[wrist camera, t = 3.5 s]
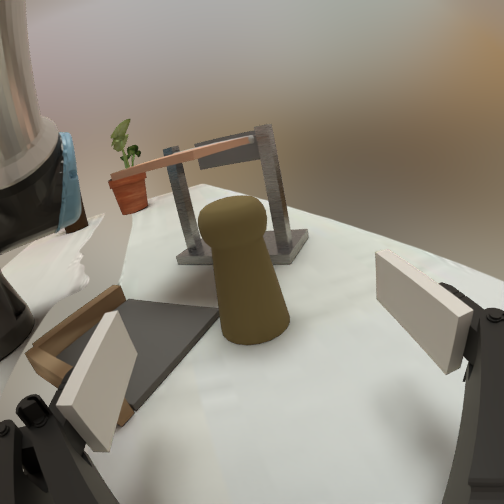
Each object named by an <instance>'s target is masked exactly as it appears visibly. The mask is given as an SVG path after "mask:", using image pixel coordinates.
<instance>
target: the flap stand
mask: <svg viewBox="0 0 504 504" xmlns="http://www.w3.org/2000/svg"><path fill="white" fill-rule="evenodd" d="M254 129H255V134H256V139H257V144H258V149H259V154H260V159H261V164H262V170H263V175H264V180H265V185H266V190H267V196H268V201H269V206H270V212H271V217H272V223H273V228H274V231H265V233H264V235H263V238H264V240H265V243H266V246H267V249H268V252H269V255H270V258H271V261H272V264H291V263H292V261H293V260H294V258H295V257H296V255H297V254H298V252H299V251H300V249H301V248H302V246H303V245H304V243H305V242H306V240H307V239H308V230H307V229H299V230H290V223H289V217H288V211H287V205H286V200H285V194H284V188H283V183H282V177H281V171H280V166H279V161H278V155H277V150H276V145H275V139H274V134H273V130H272V125H271V124H267V125H262V126H256V127H254ZM176 152H180V151H179V147H178V146H175V147H170V148H167V149H164V150H163V153H164V157H165V156H168V155H172V154H173V153H176ZM167 170H168V175H169V179H170V183H171V187H172V191H173V195H174V199H175V203H176V207H177V211H178V215H179V219H180V223H181V226H182V230H183V234H184V237H185V241H186V245H187V249H186V250H185V251H183V252H182V253H180V254H179V255H178V256H176V259H177V262H178V264H213V259H212V251H211V247H210V246H208V245H207V244H206V243H205V242H204V240H203V238H202V239H201V238H200V235H199V231H198V227H197V223H196V219H195V215H194V211H193V207H192V203H191V198H190V194H189V190H188V186H187V182H186V178H185V173H184V169H183V164H182V163H178V164H174V165H170V166H167Z"/></svg>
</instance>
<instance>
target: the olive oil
mask: <svg viewBox="0 0 504 504" xmlns="http://www.w3.org/2000/svg"><path fill="white" fill-rule="evenodd" d="M80 195H81V192H80ZM81 207H82V209H81V215H80V217H79V219H78V220H77V221H76V222H75V223H73V224H71V225H69V226H67V227H65V231H66V233H72V232H75V231H78V230H80V229H82V228H84V227H86V226H88V221H87V218H86V214H85V210H84V206H83V202H82V197H81Z"/></svg>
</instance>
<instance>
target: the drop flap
mask: <svg viewBox="0 0 504 504" xmlns="http://www.w3.org/2000/svg"><path fill="white" fill-rule="evenodd" d="M195 159H198V162H199V166H200V169H201V170H202V169H207V168H212V167H217V166H223V165H229V164H234V163H240V162H246V161H252V160H258V159H260V154H259V149H258V144H257V139H256V134H255V130H254V131H249V132H244V133H240V134H235V135H230V136H226V137H222V138H217V139H213V140H209V141H205V142H201V143H197V144H195V148H191V149H188V150H184V151H180V152H176V153H173V154H172V155H168V156H165V157H162V158H158V159H155V160H152V161H149V162H146V163H142V164H139V165H136V166H133V167H130V168H127V169H124V170H121V171H118V172H115V173H112V174H111V178H112V181H115V180H118V179H122V178H125V177H129V176H132V175H136V174H139V173H143V172H146V171H150V170H154V169H158V168H162V167H166V166H170V165H174V164H178V163H182V162H187V161H191V160H195Z"/></svg>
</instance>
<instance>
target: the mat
mask: <svg viewBox="0 0 504 504" xmlns="http://www.w3.org/2000/svg"><path fill="white" fill-rule="evenodd" d="M114 311H118V312H119V314H120V316H121V319H122V321H123V323H124V326H125V328H126V330H127V332H128V334H129V337H130V339H131V341H132V343H133V345H134V347H135V349H136V351H137V353H138V354H137V357H136V360H135V364H134V367H133V370H132V373H131V376H130V380H129V383H128V386H127V390H126V393H125V396H124V397H125V399H126V400H127V402H128V404H129V405H130V407H131V408H132V409H134V410H136V411H137V410H138V408H139V407H140V406H141V405H142V404H143V403H144V402H145V401H146V399H147V398H148V397H149V396H150V395H151V394H152V393H153V392H154V390H155V389H156V388H157V387H158V386H159V385H160V384H161V382H162V381H163V380H164V379H165V378H166V377H167V376H168V375H169V373H170V372H171V371H172V370H173V369H174V368H175V367H176V365H177V364H178V363H179V362H180V361H181V360H182V359H183V357H184V356H185V355H186V354H187V353H188V352H189V351H190V349H191V348H192V347H193V346H194V345H195V344H196V343H197V341H198V340H199V339H200V338H201V337H202V336H203V334H204V333H205V332H206V331H207V330H208V329H209V328H210V326H211V325H212V324H213V323H214V322H215V321H216V319H217V318H218V317H219V316H220V314H219V308H210V307H199V306H189V305H178V304H169V303H160V302H151V301H142V300H134V299H128V300H127V301H125V302H124V303H123V304H121V305H120V306H119V307H117V308H116V309H115V310H114ZM112 312H113V311H112ZM99 323H100V321H99V322H98V323H97V324H96V325H94V326H93V327H92V328H91V329H89V330H88V331H87V332H86V333H84V334H83V335H82V336H81V337H79V338H78V339H77V340H76V341H74V342H73V343H72V344H71V345H69V346H68V347H67V348H66V349H64V350H63V351H62V352H61V353H60V354H58V355H57V356H56V358H57V359H59V360H61V361H63V362H65V363H67V364H69V365H71V366H73V367H75V366H76V364H77V362H78V360H79V358H80V357H81V355H82V353H83V351H84V349H85V347H86V346H87V344H88V342H89V340H90V338H91V337H92V335H93V333H94V331H95V330H96V328H97V326H98V324H99Z"/></svg>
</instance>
